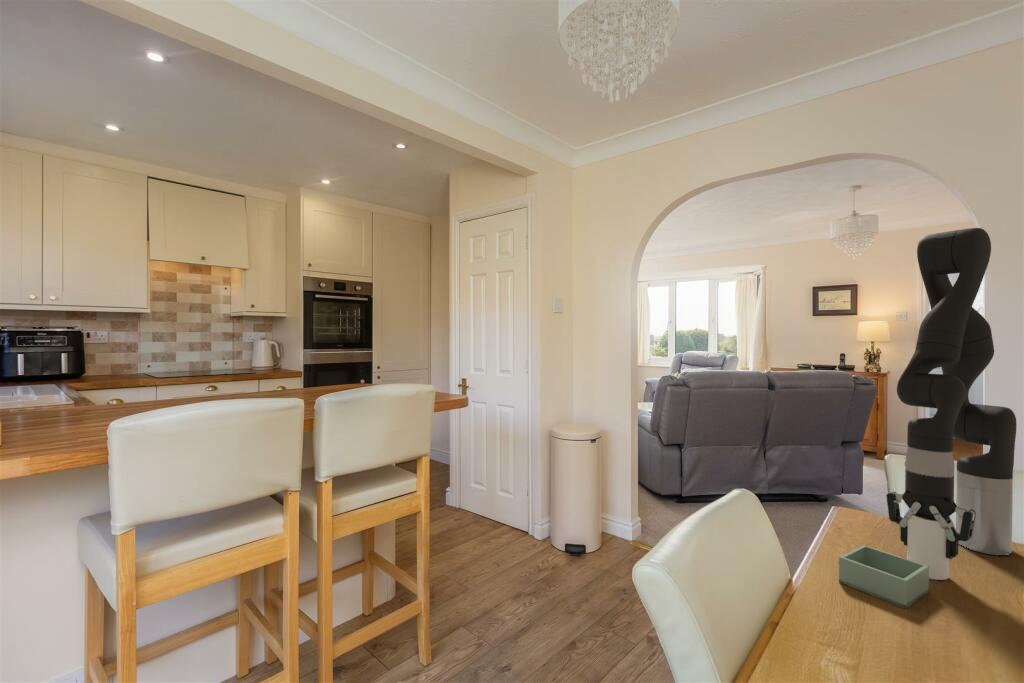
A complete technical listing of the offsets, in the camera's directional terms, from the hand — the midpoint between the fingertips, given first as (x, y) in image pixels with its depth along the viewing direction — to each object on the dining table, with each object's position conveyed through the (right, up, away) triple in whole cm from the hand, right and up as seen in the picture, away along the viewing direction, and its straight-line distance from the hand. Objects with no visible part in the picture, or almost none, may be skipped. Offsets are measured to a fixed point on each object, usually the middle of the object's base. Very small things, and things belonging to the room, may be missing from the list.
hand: (928, 550), depth 96 cm
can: (0, -5, 0) cm, 5 cm away
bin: (-14, -5, -5) cm, 15 cm away
